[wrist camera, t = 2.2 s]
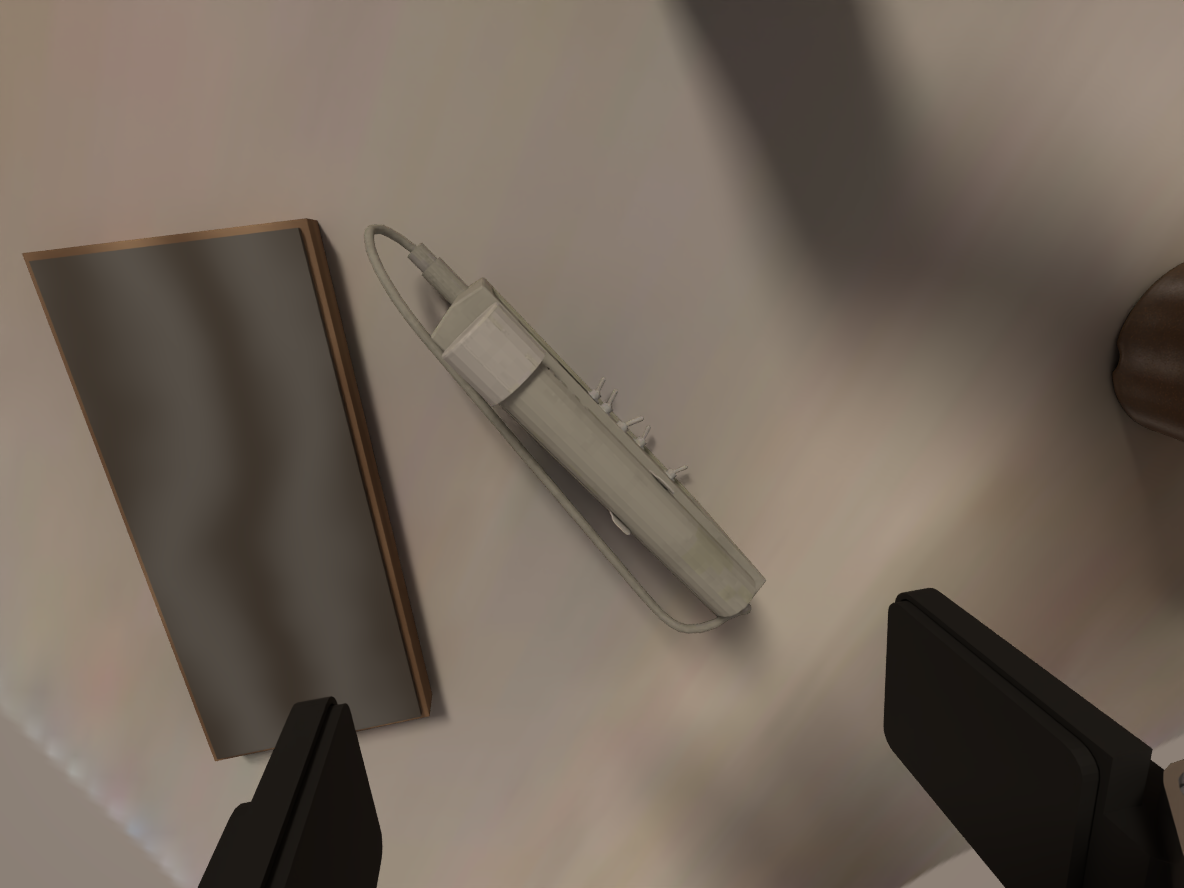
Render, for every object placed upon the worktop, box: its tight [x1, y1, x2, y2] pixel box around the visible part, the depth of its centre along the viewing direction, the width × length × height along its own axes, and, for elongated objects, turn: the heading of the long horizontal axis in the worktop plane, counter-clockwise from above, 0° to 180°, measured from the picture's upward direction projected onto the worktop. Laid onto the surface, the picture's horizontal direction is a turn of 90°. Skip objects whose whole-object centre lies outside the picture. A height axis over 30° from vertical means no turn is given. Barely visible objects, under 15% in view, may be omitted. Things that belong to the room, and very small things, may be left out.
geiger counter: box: [364, 225, 766, 633], centre depth 32 cm, size 14×6×25 cm
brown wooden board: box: [22, 218, 432, 761], centre depth 36 cm, size 13×30×2 cm, turn 7°
